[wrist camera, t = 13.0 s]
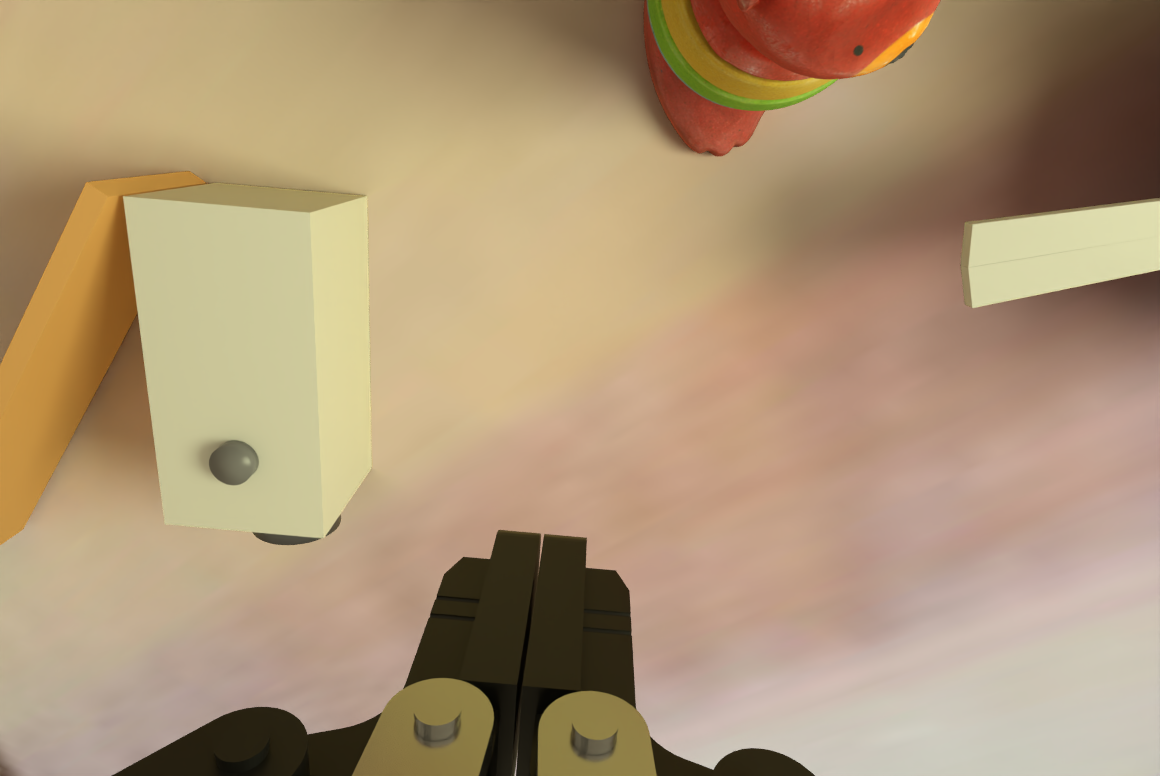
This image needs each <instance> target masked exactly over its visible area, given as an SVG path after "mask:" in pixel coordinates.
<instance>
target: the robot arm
mask: <svg viewBox="0 0 1160 776" xmlns="http://www.w3.org/2000/svg"><path fill="white" fill-rule="evenodd" d="M586 543H587V538H583V537H572V536H560V535H549V534H544V540H543V547H542V553H541V560H540V567H539V558H540V544H541V534H539V533H528V532H517V531H505V530H498V532H497V535H496V539H495V543H494V547H493V551H492V555H491V559H481V558H469V557H463V558H462V559H461V560H459V561H458V562H457V563H456V564H455V565H454V566H453V567H452V568H451V569H449V570H448V571H447V572H446V573H445V574H444V576H443V579H442V582H441V585H440V588H439V591H438V593H437V598H436V600H435V602H434V605H433V608H432V610H431V614H430V618H429V619H428V622H427V625H426V627H425V630H424V633H423V636H422V639H421V641H420V644H419V647H418V650H417V653H416V656H415V658H414V661H413V664H412V667H411V670H410V673H409V675H408V678H407V681H406V684H405V686H404V688H403V690H401V691H399V692H398V693H397V694H396V695H395V696H393V697H392V699H391V700H390V701H389V702H388V703H387V705H386V707H385V708H384V710H383V712H382V713H380V714H379V715H377V716H375V717H374V718H372V719H370V720H367V721H365V722H363V723H360V724H357V725H354V726H351V727H346V728H342V729H336V730H331V731H325V732H319V733H314V734H308V735H307V732H306V729H305V727H304V725H303V724H302V722H301V721H300V720H299V719H298V718H297V717H295V716H294V715H293V714H291V713H289V712H287V711H284V710H281V709H278V708H271V707H254V708H246V709H242V710H238V711H234V712H231V713H229V714H226V715H223V716H221V717H219V718H217V719H215V720H213V721H211V722H209V723H208V724H206V725H204V726H202V727H200V728H198V729H197V730H195V731H193V732H191V733H189V734H187V735H186V736H184V737H182V738H180V739H178V740H176V741H175V742H173V743H171V744H169V745H167V746H165V747H164V748H162V749H160V750H158V751H156V752H154V753H153V754H151V755H149V756H147V757H145V758H143V759H142V760H140V761H138V762H136V763H134V764H132V765H131V766H129V767H127V768H125V769H123V770H121V771H120V772H118V773H116V774H114V775H112V776H514V774H515V767H516V760H517V770H516V776H815V775H814V774H813V773H811V772H810V771H809V770H808V769H806V768H805V767H804V766H803V765H801V764H800V763H798V762H796V761H795V760H793V759H791V758H789V757H787V756H785V755H783V754H780V753H777V752H774V751H771V750H765V749H756V748H750V749H741V750H738V751H734V752H732V753H730V754H728V755H726V756H725V757H724V758H722V759H721V760H720V761H719V762H718V764H717V765H716V766H715V768H714V770H712V769H710V768H707V767H704V766H702V765H699V764H696V763H694V762H691V761H688V760H686V759H683V758H681V757H679V756H676V755H674V754H673V753H671V752H669V751H667V750H666V749H664V748H663V747H662V746H660V745H659V744H658V743H656V742H655V741H654V740H653V739H652V738H651V737H650V733H649V730H648V726H647V724H646V722H645V720H644V718H643V717H642V716H641V714H640V713H639V712H638V711H637V710H636V703H635V685H634V667H633V649H632V636H631V617H630V613H631V612H630V594H629V590H628V588H627V587H626V585H625V584H624V582H623V581H622V579H621V578H620V576H619V575H618V573H617V572H616V571H615V570H603V569H592V568H586ZM538 572H539V574H538ZM517 753H518V756H517Z"/></svg>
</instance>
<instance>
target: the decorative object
mask: <svg viewBox="0 0 1160 776" xmlns="http://www.w3.org/2000/svg"><path fill="white" fill-rule="evenodd" d="M1157 270H1160V198H1154V199H1146V200H1138V201H1130V202H1122V203H1114V204H1106V205H1098V206H1090V207H1082V208H1074V209H1066V210H1058V211H1050V212H1042V213H1034V214H1026V215H1018V216H1010V217H1002V218H994V219H986V220H978V221H970V222H965V224H964V234H963V244H962V255H961V274H962V283H963V293H964V302H965V305H967V306H969V307H971V308H976V307H981V306H985V305H990V304H995V303H1000V302H1005V301H1010V300H1015V299H1020V298H1025V297H1030V296H1035V295H1040V294H1044V293H1049V292H1054V291H1059V290H1064V289H1069V288H1074V287H1079V286H1084V285H1089V284H1094V283H1099V282H1103V281H1108V280H1113V279H1118V278H1123V277H1128V276H1133V275H1138V274H1143V273H1148V272H1153V271H1157Z"/></svg>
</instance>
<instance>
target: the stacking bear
mask: <svg viewBox="0 0 1160 776" xmlns="http://www.w3.org/2000/svg"><path fill="white" fill-rule="evenodd" d="M939 2H940V0H645V1H644V37H645V48H646V55H647V61H648V65H649V69H650V74H651V78H652V81H653V84H654V87H655V90H656V93H657V95H658V98H659V100H660V103H661V105H662V107H663V109H664V111H665V113H666V115H667V117H668V119H669V120H670V122H671V124H672V125H673V127H674V128H675V130H676V131H677V133H678V134H679V136H680V137H681V139H682V140H683V141H684V142H685V143H686V145H687V146H689V147H690V148H691V149H692V150H693V151H695V152H697V153H703V152H705V151H709V152H710V153H712V154H713V155H715V156H723V155H725V154H727V153H728V152H729V151H730V150H731V149H732V148H733V147H739V146H742V145H744V144H745V143H746V142H747V141H748V140H749V139H750V137H751V136H752V134H753V132H754V130H755V128H756V126H757V124H758V122H759V120H760V118H761V116H762V115H763V113H764V112H765V110H773V109H778V108H783V107H787V106H791V105H793V104H796V103H799V102H801V101H804V100H806V99H808V98H810V97H812V96H814V95H815V94H817V93H819V92H821V91H822V90H824V89H825V88H827V87H828V86H830V85H831V84H833V83H834V82H835V81H836V80H838V79H843V78H850V77H856V76H861V75H865V74H868V73H871V72H873V71H876V70H878V69H880V68H882V67H884V66H886V65H888V64H890V63H894V62H895V61H897V60H898V59H900V58H902V57H903V56H904V55H905V53H906V52H907V50H909V49H910V48H911V47H912V46H913V44H914V42H915V41H916V40H917V39H918V38H919V37H920V35H921V34H922V33H923V31H924V30H925V29H926V27H927V26H928V24H929V21H930V19H931V17H932V15H933V13H934V11H935V10H936V8H937V6H938V4H939Z"/></svg>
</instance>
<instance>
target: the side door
mask: <svg viewBox="0 0 1160 776" xmlns="http://www.w3.org/2000/svg"><path fill="white" fill-rule="evenodd" d="M204 184H206V182H204V181H203V180H201V179H200V178H199V177H197V176H196V175H194V174H193V173H191V172H190V171H185V172H175V173H166V174H157V175H148V176H138V177H129V178H120V179H111V180H101V181H92V182H86V184H85V186H84V188H83V190H82V192H81V194H80V197H79V199H78V201H77V203H76V205H75V207H74V209H73V211H72V214H71V216H70V218H69V220H68V222H67V224H66V226H65V228H64V231H63V233H62V235H61V237H60V239H59V241H58V243H57V245H56V248H55V250H54V252H53V254H52V256H51V258H50V260H49V262H48V265H47V267H46V269H45V271H44V273H43V275H42V277H41V279H40V281H39V284H38V286H37V288H36V290H35V292H34V294H33V296H32V298H31V301H30V303H29V305H28V307H27V309H26V311H25V313H24V315H23V318H22V320H21V322H20V324H19V326H18V328H17V330H16V332H15V335H14V337H13V339H12V341H11V343H10V345H9V347H8V349H7V351H6V354H5V356H4V358H3V360H2V362H1V364H0V545H1V544H3V543H4V542H6V541H7V540H8V539H10V538H11V537H13V536H14V535H16V534H17V533H19V532H20V531H21V530H23V529H24V527H25V525H26V523H27V521H28V519H29V517H30V515H31V513H32V512H33V510H34V508H35V506H36V504H37V502H38V500H39V498H40V496H41V495H42V493H43V491H44V489H45V487H46V485H47V483H48V481H49V479H50V478H51V476H52V474H53V472H54V470H55V468H56V466H57V464H58V462H59V460H60V459H61V457H62V455H63V453H64V451H65V449H66V447H67V445H68V443H69V442H70V440H71V438H72V436H73V434H74V432H75V430H76V428H77V426H78V425H79V423H80V421H81V419H82V417H83V415H84V413H85V411H86V409H87V408H88V406H89V404H90V402H91V400H92V398H93V396H94V394H95V392H96V391H97V389H98V387H99V385H100V383H101V381H102V379H103V377H104V375H105V373H106V372H107V370H108V368H109V366H110V364H111V362H112V360H113V358H114V356H115V355H116V353H117V351H118V349H119V347H120V345H121V343H122V341H123V339H124V338H125V336H126V334H127V332H128V330H129V328H130V326H131V324H132V322H133V321H134V319H135V317H136V315H137V313H138V310H137V303H136V295H135V287H134V279H133V271H132V263H131V255H130V248H129V240H128V232H127V224H126V216H125V208H124V200H123V196H129V195H136V194H142V193H149V192H156V191H163V190H170V189H177V188H184V187H190V186H197V185H204Z"/></svg>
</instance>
